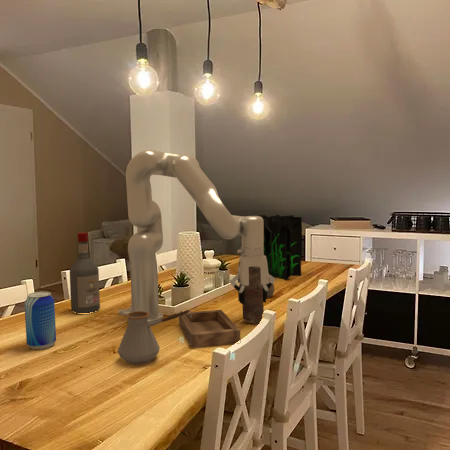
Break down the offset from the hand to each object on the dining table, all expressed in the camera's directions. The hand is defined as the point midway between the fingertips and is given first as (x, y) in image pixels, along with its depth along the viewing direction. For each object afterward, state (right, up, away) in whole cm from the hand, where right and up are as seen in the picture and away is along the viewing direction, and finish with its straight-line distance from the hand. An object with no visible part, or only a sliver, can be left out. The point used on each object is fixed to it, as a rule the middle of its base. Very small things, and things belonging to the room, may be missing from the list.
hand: (252, 302), depth 169 cm
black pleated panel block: (+14, +1, +79) cm, 80 cm away
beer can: (-65, -10, -21) cm, 69 cm away
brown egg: (+8, -4, +35) cm, 37 cm away
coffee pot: (-29, -11, -35) cm, 46 cm away
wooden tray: (-15, -8, -12) cm, 21 cm away
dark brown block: (0, -7, +1) cm, 7 cm away
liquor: (-63, -6, +16) cm, 65 cm away
